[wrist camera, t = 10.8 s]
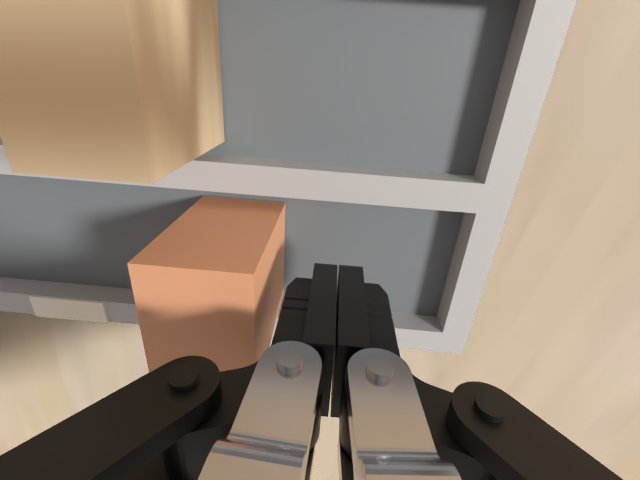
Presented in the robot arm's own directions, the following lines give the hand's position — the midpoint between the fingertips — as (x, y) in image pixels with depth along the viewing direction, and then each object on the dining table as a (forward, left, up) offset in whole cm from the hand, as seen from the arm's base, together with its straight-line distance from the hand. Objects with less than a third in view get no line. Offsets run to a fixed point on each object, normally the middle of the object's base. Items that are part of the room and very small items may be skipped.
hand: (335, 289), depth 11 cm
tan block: (-6, -6, -3) cm, 9 cm away
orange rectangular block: (0, -4, -3) cm, 4 cm away
